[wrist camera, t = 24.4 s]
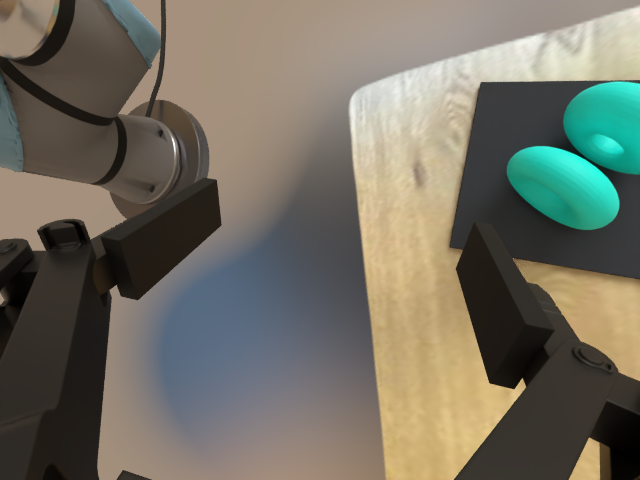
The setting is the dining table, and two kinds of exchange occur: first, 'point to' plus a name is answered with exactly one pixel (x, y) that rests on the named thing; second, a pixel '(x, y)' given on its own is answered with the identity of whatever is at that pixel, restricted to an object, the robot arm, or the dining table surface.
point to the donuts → (575, 172)
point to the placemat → (514, 211)
